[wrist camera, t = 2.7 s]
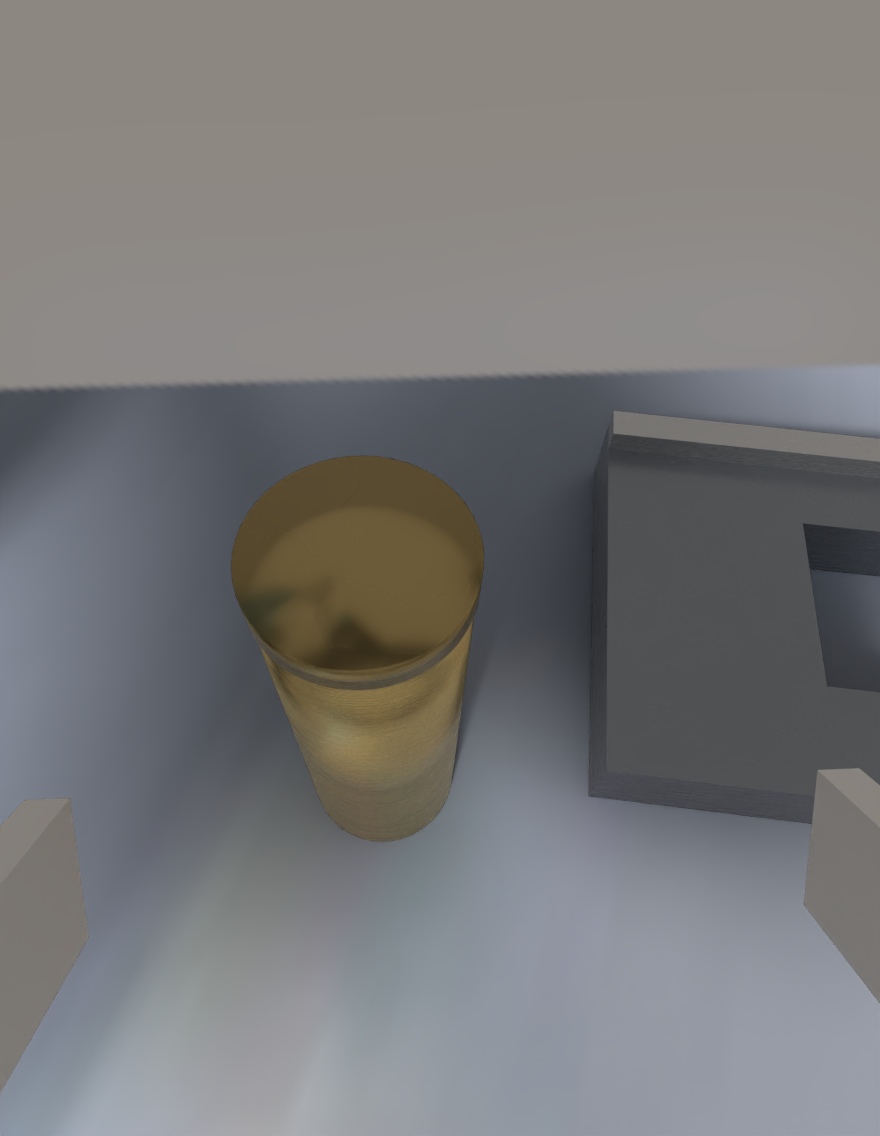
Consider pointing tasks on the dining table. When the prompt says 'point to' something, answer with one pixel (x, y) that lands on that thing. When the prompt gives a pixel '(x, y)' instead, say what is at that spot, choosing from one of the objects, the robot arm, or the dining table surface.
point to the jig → (725, 613)
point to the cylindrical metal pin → (365, 630)
